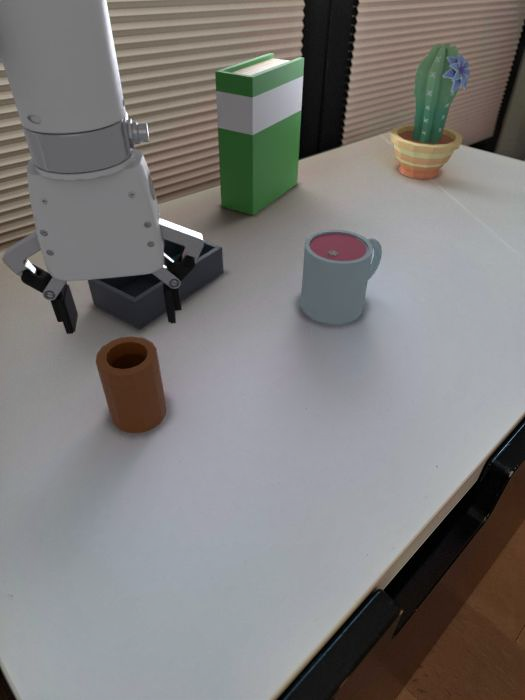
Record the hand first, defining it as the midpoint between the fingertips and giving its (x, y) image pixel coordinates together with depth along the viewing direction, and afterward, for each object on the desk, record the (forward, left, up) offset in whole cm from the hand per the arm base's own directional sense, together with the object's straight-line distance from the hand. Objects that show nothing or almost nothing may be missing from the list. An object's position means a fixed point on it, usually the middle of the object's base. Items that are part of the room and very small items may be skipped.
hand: (123, 320), depth 50 cm
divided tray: (-16, +20, -14) cm, 29 cm away
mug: (+8, +34, -14) cm, 37 cm away
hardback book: (-24, +57, -14) cm, 63 cm away
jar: (0, 0, -14) cm, 14 cm away
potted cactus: (-3, +89, -14) cm, 90 cm away
